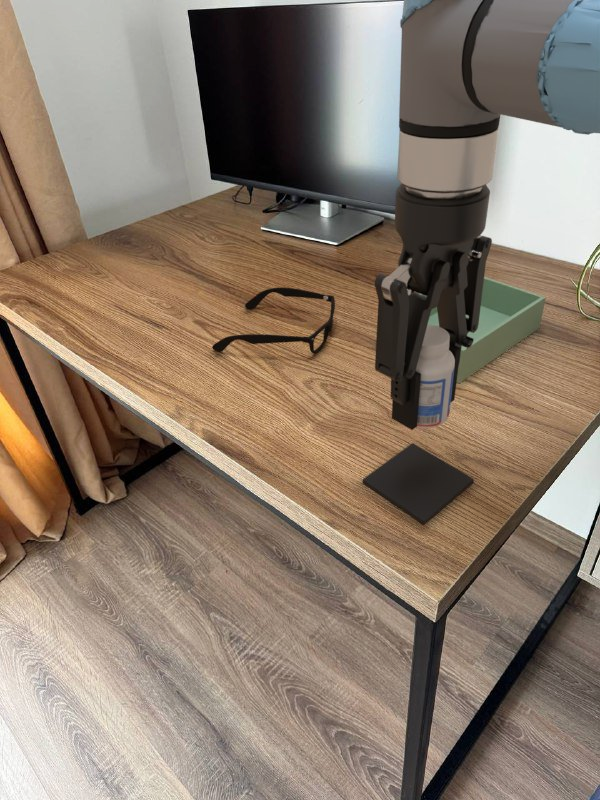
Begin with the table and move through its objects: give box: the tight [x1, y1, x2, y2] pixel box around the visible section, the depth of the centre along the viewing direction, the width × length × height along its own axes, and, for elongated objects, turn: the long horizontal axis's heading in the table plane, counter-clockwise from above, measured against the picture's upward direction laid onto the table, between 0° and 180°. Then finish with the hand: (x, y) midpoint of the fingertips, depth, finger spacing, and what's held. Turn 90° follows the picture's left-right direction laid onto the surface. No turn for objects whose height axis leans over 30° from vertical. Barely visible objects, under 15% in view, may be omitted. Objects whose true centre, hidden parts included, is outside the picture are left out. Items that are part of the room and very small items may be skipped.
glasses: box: [211, 287, 336, 355], centre depth 96 cm, size 17×18×5 cm
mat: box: [362, 443, 475, 526], centre depth 68 cm, size 9×9×1 cm
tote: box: [418, 276, 547, 384], centre depth 91 cm, size 15×21×6 cm
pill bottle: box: [415, 325, 455, 430], centre depth 59 cm, size 6×5×10 cm
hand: (423, 408), depth 61 cm, fingers closed on pill bottle, 5 cm apart
